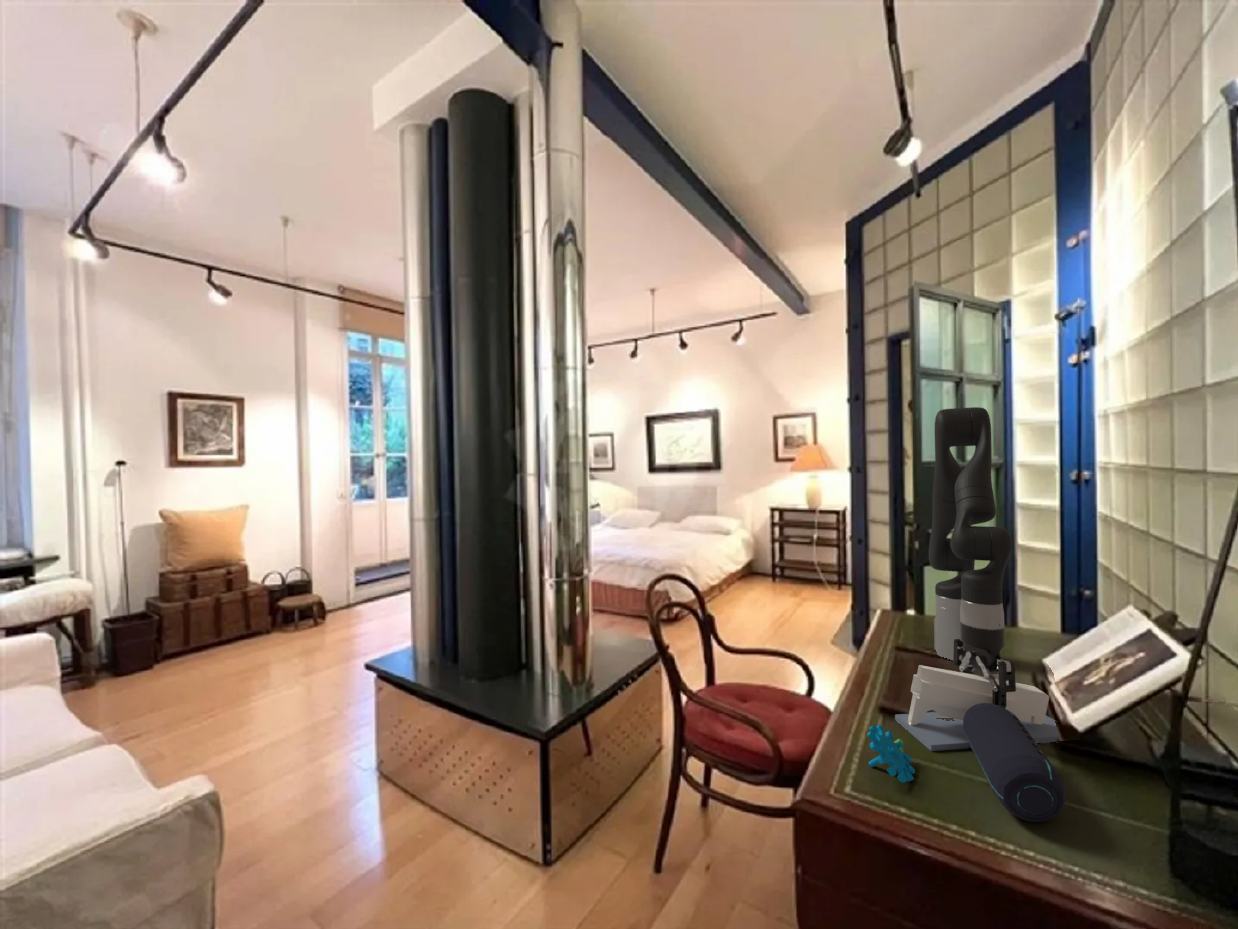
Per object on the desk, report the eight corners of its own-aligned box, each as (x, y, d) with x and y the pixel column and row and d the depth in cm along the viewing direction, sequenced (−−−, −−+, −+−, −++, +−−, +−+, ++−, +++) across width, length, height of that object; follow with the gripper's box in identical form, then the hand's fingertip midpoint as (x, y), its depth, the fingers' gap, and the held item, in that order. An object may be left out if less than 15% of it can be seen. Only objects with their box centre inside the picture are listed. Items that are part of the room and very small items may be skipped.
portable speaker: (1077, 841, 79) (1076, 775, 79) (998, 826, 82) (997, 763, 82) (1018, 750, 102) (1017, 699, 102) (959, 741, 106) (958, 692, 106)
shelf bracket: (902, 717, 113) (914, 661, 113) (1022, 742, 112) (1034, 684, 111) (915, 731, 108) (927, 671, 107) (1041, 757, 106) (1054, 697, 106)
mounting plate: (895, 720, 115) (895, 714, 115) (1029, 711, 117) (1029, 706, 117) (931, 751, 103) (931, 745, 103) (1080, 740, 105) (1080, 735, 105)
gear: (905, 787, 90) (864, 730, 95) (879, 801, 92) (841, 745, 98) (926, 768, 97) (887, 716, 103) (902, 782, 100) (865, 730, 106)
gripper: (1027, 632, 102) (1028, 714, 103) (973, 610, 116) (974, 682, 117) (990, 634, 102) (992, 717, 102) (941, 612, 116) (942, 684, 116)
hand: (983, 698), depth 109 cm, fingers open, 8 cm apart
